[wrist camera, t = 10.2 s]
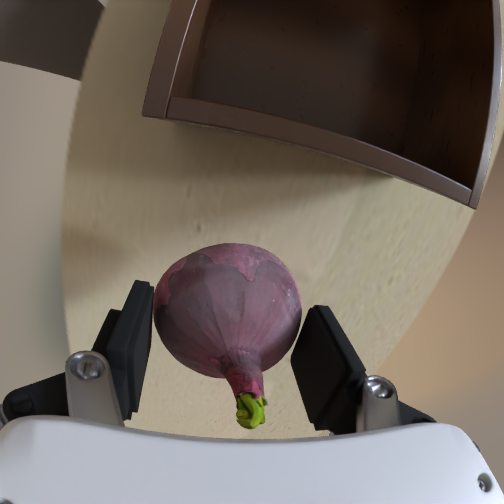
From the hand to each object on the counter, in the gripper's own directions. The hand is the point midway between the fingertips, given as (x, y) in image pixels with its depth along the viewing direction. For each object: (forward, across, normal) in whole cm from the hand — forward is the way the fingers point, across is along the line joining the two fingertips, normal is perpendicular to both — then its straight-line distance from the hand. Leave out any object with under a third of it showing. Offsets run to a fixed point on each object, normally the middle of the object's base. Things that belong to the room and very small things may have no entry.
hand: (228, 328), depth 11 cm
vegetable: (+5, 0, 0) cm, 5 cm away
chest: (+8, -3, -15) cm, 17 cm away
